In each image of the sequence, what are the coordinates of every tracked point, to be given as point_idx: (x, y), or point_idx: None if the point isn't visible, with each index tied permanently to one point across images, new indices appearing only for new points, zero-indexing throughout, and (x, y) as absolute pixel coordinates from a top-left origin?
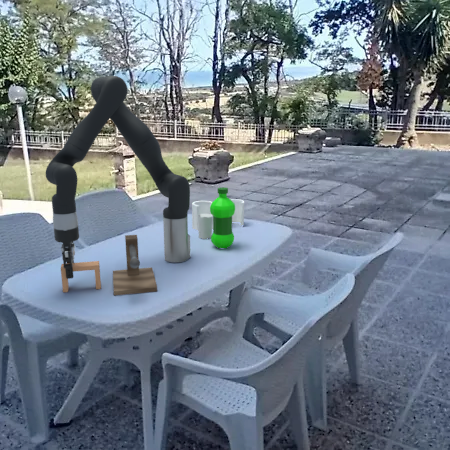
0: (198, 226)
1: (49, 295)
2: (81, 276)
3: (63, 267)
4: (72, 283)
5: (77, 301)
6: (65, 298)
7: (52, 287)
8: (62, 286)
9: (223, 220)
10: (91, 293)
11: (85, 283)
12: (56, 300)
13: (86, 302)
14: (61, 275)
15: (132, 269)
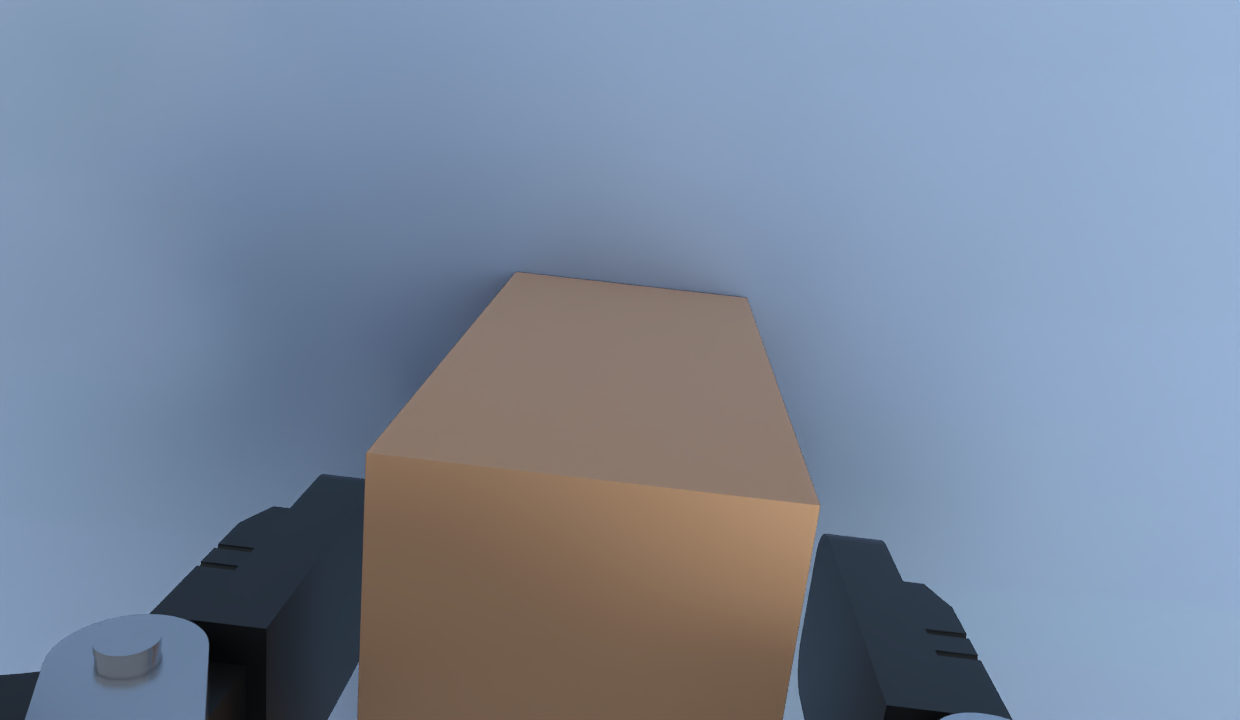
0: None
1: (449, 14)
2: (1170, 625)
3: (420, 545)
4: (890, 454)
5: (76, 480)
6: (237, 302)
7: (840, 76)
8: (497, 298)
9: None
10: (340, 700)
11: (796, 657)
12: (185, 144)
13: (15, 602)
14: (438, 374)
15: None
